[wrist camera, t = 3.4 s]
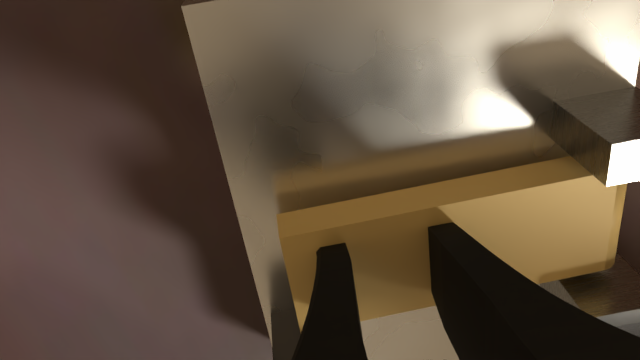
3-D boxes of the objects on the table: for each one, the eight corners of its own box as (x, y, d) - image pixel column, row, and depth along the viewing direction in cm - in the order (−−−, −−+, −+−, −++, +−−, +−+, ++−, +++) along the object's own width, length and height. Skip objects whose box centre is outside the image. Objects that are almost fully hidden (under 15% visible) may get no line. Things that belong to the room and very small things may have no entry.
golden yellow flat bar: (613, 147, 13) (640, 165, 13) (600, 243, 15) (622, 266, 14) (276, 214, 13) (279, 238, 12) (296, 306, 15) (300, 333, 14)
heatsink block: (583, -87, 14) (753, -67, 9) (549, 296, 20) (639, 422, 16) (194, -19, 14) (165, 36, 9) (285, 347, 20) (296, 490, 15)
